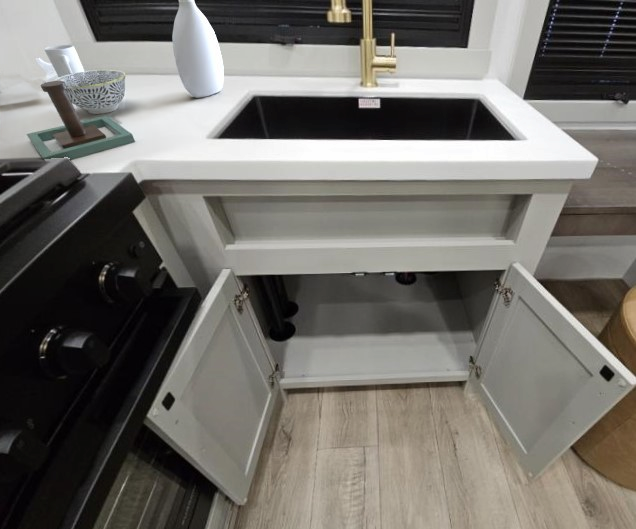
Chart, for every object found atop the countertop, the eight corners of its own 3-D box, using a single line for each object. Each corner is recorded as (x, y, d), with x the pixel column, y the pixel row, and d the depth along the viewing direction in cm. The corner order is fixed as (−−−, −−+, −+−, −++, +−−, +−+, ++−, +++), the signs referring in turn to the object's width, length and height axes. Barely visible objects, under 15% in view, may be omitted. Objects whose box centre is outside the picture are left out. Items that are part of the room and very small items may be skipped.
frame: (30, 141, 69) (26, 133, 68) (109, 122, 77) (106, 115, 76) (48, 165, 60) (43, 157, 59) (135, 141, 68) (132, 133, 67)
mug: (68, 96, 93) (43, 46, 85) (94, 92, 96) (72, 43, 88) (70, 105, 87) (44, 52, 79) (98, 100, 90) (75, 49, 82)
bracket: (56, 83, 108) (36, 58, 102) (76, 74, 109) (58, 49, 104) (54, 92, 100) (32, 66, 94) (76, 83, 101) (55, 56, 95)
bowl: (103, 123, 76) (88, 88, 71) (53, 117, 80) (34, 83, 75) (149, 103, 87) (138, 71, 82) (103, 98, 91) (90, 67, 86)
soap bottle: (215, 85, 99) (190, -34, 81) (233, 89, 96) (212, -34, 78) (175, 97, 91) (138, -33, 73) (194, 102, 87) (160, -34, 69)
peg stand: (56, 141, 69) (23, 83, 61) (96, 131, 73) (70, 76, 65) (65, 152, 64) (32, 92, 57) (108, 141, 68) (81, 83, 61)
